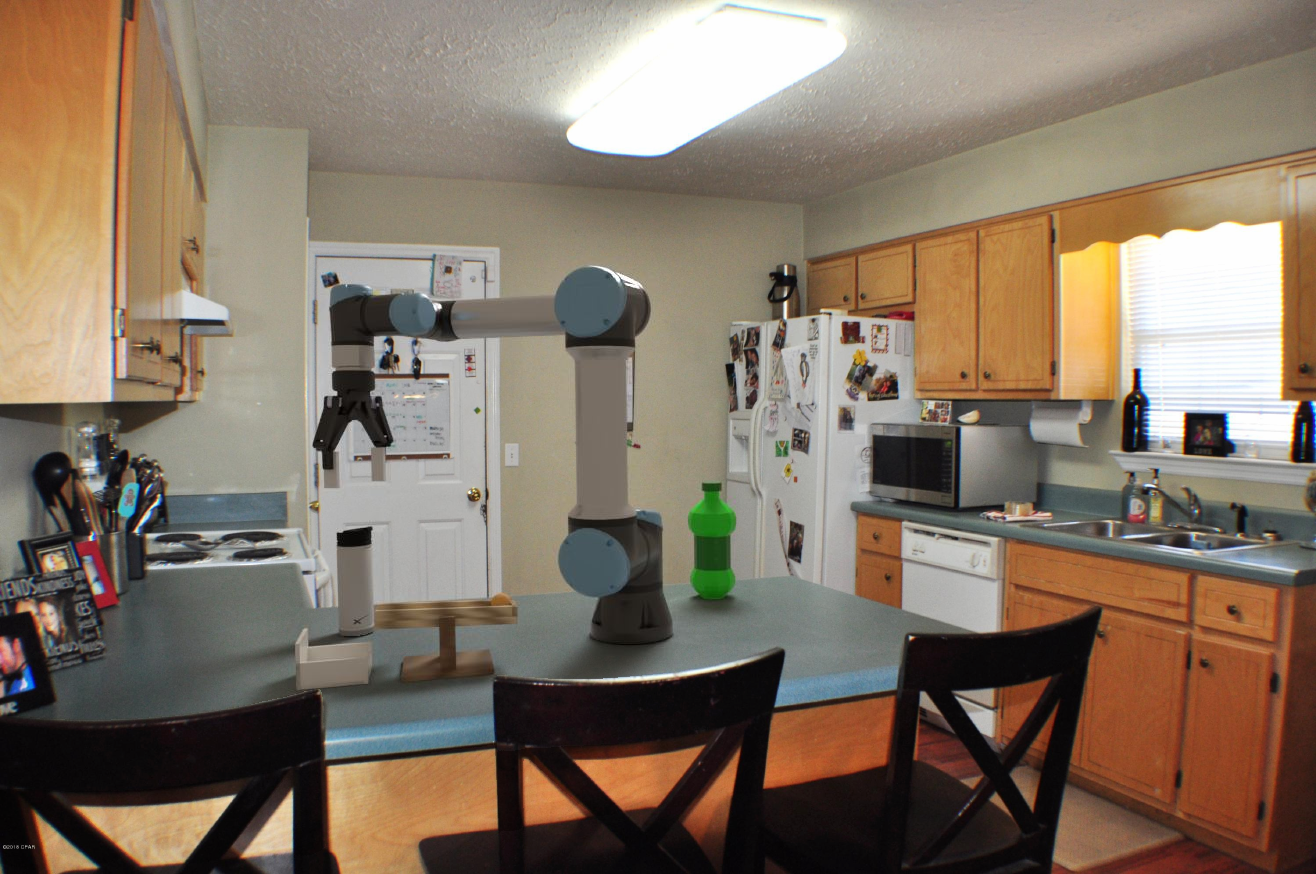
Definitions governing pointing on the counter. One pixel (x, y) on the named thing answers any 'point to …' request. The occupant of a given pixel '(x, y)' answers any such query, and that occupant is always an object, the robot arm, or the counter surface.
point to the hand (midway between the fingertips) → (356, 484)
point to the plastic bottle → (712, 544)
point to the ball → (501, 600)
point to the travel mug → (355, 582)
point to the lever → (442, 614)
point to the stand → (447, 659)
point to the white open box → (331, 664)
